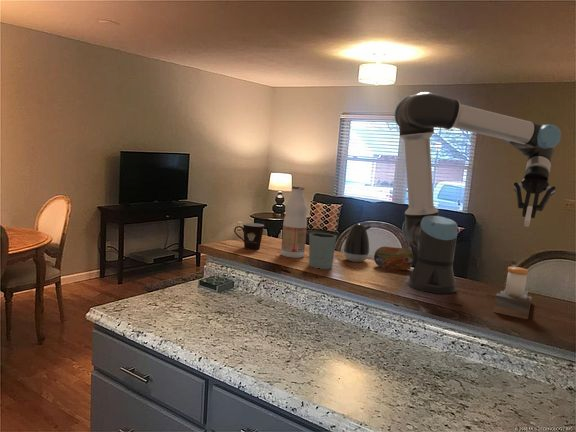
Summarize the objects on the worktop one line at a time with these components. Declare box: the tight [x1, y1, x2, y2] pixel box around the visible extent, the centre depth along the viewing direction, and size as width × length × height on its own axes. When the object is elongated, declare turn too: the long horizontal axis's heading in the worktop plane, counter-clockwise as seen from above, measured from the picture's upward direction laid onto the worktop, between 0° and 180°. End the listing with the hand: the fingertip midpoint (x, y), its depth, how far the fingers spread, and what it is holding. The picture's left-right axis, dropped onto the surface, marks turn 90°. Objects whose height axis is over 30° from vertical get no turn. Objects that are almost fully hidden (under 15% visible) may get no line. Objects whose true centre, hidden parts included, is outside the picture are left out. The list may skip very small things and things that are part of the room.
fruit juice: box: [280, 185, 309, 259], centre depth 191 cm, size 9×9×28 cm
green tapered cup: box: [308, 232, 337, 270], centre depth 177 cm, size 10×10×12 cm
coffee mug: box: [233, 222, 265, 251], centre depth 201 cm, size 12×9×10 cm
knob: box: [505, 266, 529, 298], centre depth 141 cm, size 5×5×10 cm
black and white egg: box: [343, 222, 371, 263], centre depth 192 cm, size 10×10×15 cm
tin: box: [373, 245, 415, 271], centre depth 185 cm, size 15×3×8 cm, turn 81°
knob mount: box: [493, 287, 532, 320], centre depth 145 cm, size 20×9×5 cm, turn 151°
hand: (526, 223), depth 154 cm, fingers closed
